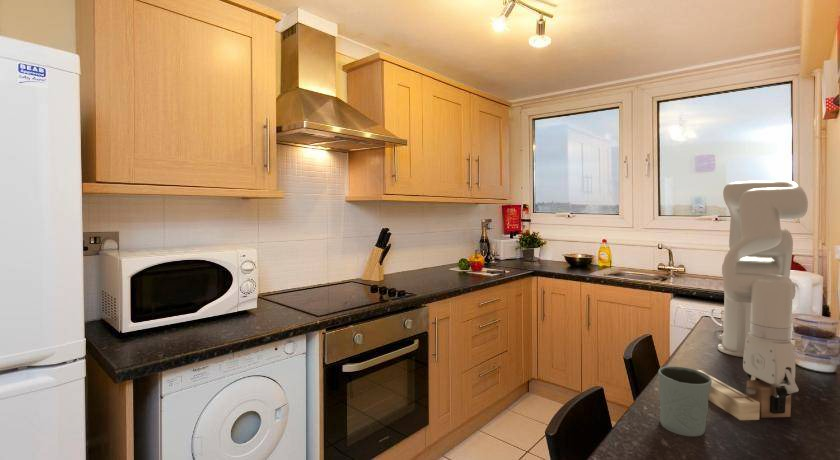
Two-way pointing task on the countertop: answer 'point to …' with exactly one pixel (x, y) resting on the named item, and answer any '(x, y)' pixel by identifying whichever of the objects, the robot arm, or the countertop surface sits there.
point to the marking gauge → (765, 398)
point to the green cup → (683, 400)
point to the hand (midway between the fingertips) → (768, 406)
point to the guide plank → (733, 400)
